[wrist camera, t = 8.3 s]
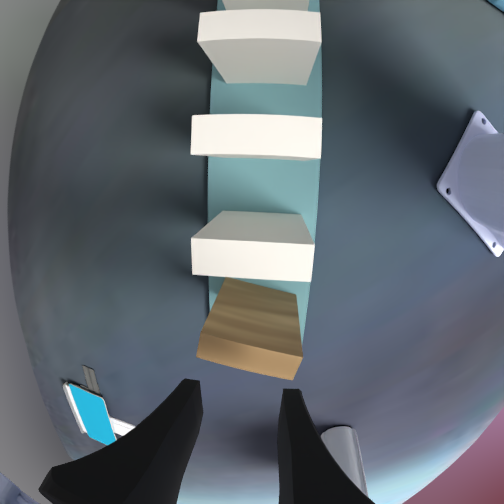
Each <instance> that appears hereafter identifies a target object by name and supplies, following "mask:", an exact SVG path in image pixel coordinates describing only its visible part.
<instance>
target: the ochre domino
mask: <svg viewBox="0 0 504 504" xmlns="http://www.w3.org/2000/svg"><path fill="white" fill-rule="evenodd" d="M196 357H198V358H201V359H205V360H208V361H212V362H215V363H219V364H223V365H227V366H231V367H235V368H239V369H243V370H247V371H251V372H255V373H260V374H264V375H269V376H274V377H279V378H284V379H289V380H293V378H294V376H295V374H296V372H297V369H298V367H299V365H300V363H301V361H302V358H303V353H302V343H301V333H300V323H299V314H298V305H297V297H296V294H292V293H288V292H284V291H280V290H276V289H272V288H268V287H264V286H260V285H256V284H252V283H248V282H245V281H241V280H237V279H233V278H229V277H226V278H225V280H224V282H223V284H222V286H221V289H220V291H219V293H218V295H217V297H216V300H215V302H214V304H213V306H212V308H211V311H210V313H209V315H208V317H207V320H206V322H205V324H204V326H203V328H202V331H201V333H200V339H199V344H198V350H197V356H196Z"/></svg>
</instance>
